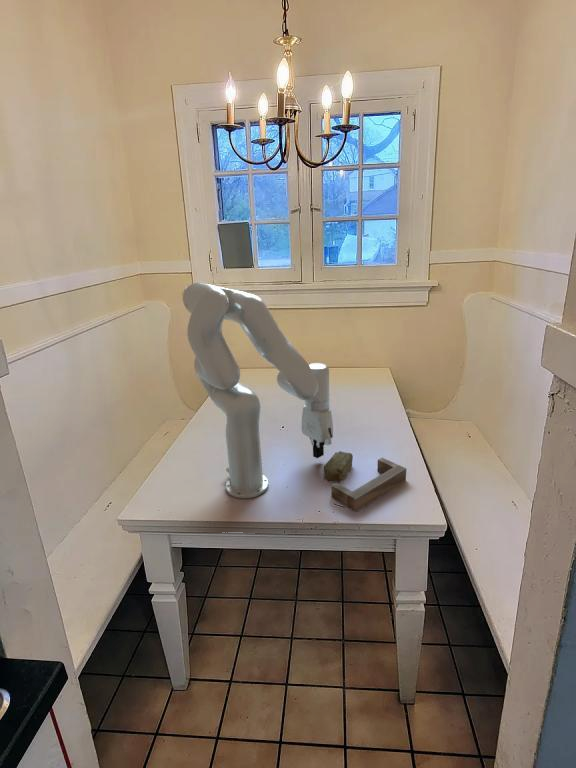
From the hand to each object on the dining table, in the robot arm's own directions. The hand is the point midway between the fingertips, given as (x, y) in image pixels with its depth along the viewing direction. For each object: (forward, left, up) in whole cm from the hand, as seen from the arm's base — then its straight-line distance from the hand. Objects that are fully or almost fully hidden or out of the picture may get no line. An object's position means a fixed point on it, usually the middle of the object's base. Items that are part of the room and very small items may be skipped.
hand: (318, 455), depth 145 cm
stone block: (+9, 0, -3) cm, 9 cm away
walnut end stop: (+21, 0, -2) cm, 21 cm away
